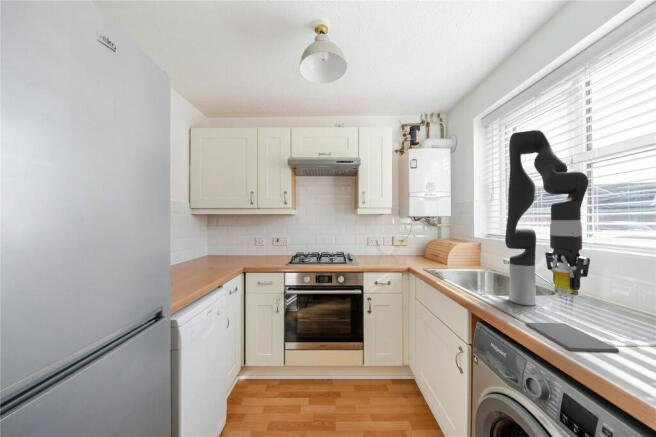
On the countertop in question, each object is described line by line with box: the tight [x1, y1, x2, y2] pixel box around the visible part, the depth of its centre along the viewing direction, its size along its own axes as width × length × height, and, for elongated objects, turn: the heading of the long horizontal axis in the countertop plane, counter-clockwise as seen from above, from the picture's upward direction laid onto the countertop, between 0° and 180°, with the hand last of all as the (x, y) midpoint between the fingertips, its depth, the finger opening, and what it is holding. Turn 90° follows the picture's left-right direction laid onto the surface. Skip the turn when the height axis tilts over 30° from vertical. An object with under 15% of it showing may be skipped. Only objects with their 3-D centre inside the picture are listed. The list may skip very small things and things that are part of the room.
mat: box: [525, 322, 620, 353], centre depth 82 cm, size 18×13×1 cm
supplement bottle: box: [554, 262, 579, 298], centre depth 82 cm, size 6×6×10 cm
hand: (566, 286), depth 82 cm, fingers closed on supplement bottle, 5 cm apart
